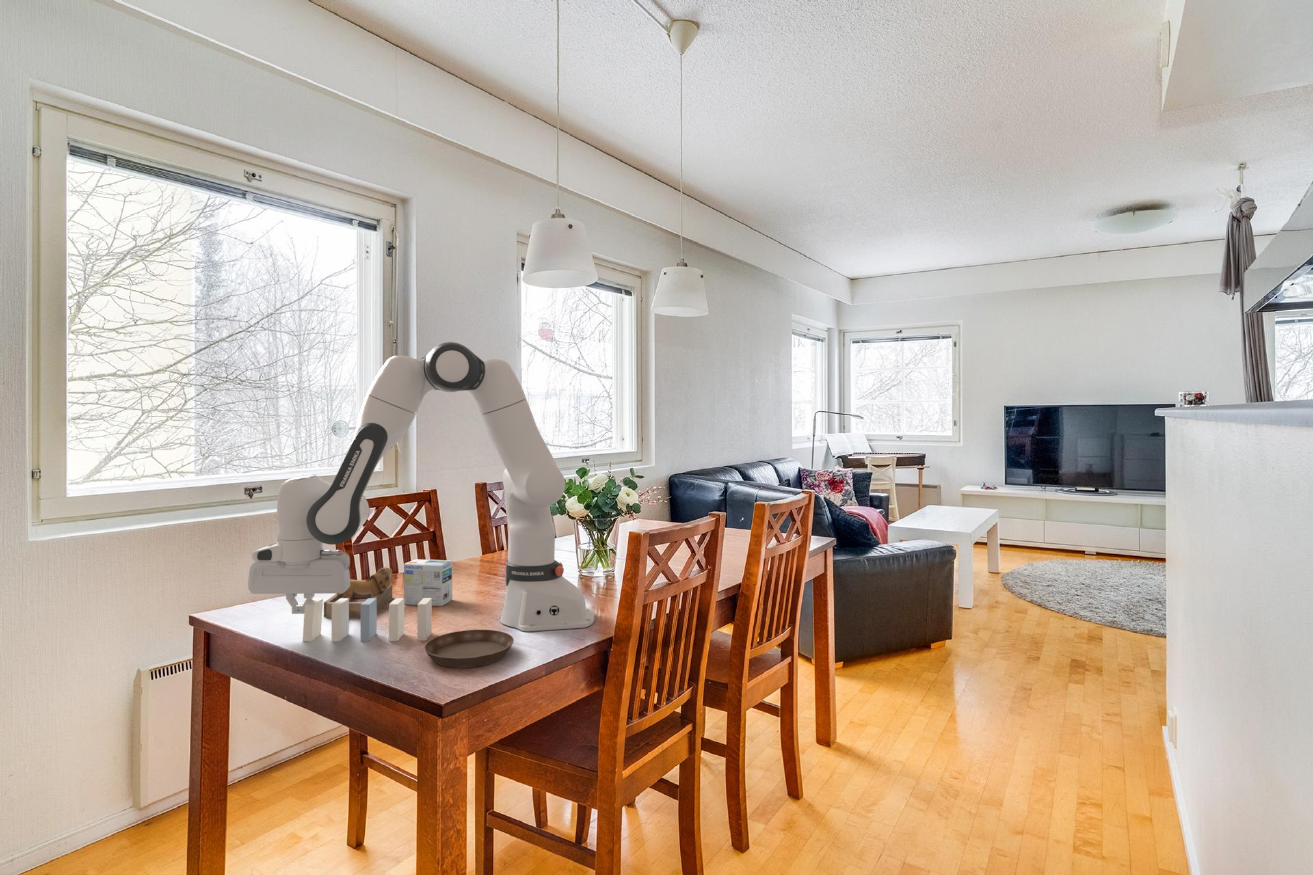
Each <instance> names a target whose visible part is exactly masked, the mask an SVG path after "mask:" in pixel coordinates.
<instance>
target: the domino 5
mask: <svg viewBox="0 0 1313 875" xmlns="http://www.w3.org/2000/svg"><path fill="white" fill-rule="evenodd" d="M432 610H433V606H432V598H423V599H422V600H421V601H420V602H419V603H418V605H417V628H416V630H417V633H416V634H417V636H416V637H417V638H416V640H417V641H418V642H419V641H424V642H425V641H427V640H428V639H429V637H430V636H431V635H432V630H433V629H432V627H433V626H432V624H433V623H432V621H433V618H432V616H433V613H432V612H433V611H432Z"/></svg>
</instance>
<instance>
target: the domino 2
mask: <svg viewBox="0 0 1313 875" xmlns="http://www.w3.org/2000/svg"><path fill="white" fill-rule="evenodd" d="M349 624H350V618H349V598H340V599H339V600H337V601H336V602H335V603H333V604H332V618H331V642H341V641H342V640H344V639H345V638H346V637H347V636H348V635H349V632H350V631H349V630H350V628H349V627H350V625H349Z"/></svg>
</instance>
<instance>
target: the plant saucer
mask: <svg viewBox="0 0 1313 875" xmlns="http://www.w3.org/2000/svg"><path fill="white" fill-rule="evenodd" d="M514 641H515V640H514V637H513V636H512V635H510V634H509V633H507V632H503V631H500V630H493V629H467V630H458V631H453V632H448V633H444V634H441V635H438V636H435V637H433V638H431V639H430V640H428V641H427V642H426V643H425V644H424V647H423V649H424V651H425V653H426V655H427V656H428V657H429V658H430V659H431V660H432V661H433V662H434V663H436V664H438V665H439V666H442V667H447V668H453V669H454V668H455V669H457V668H458V669H467V668H475V667H476V668H477V667H482V666H486V665H489V664H493V663H496V662H497V661H499V660H501V659H503V657H505V655H506V654H507V653H508V651H509V650H510V649H511V648H512V645H513V644H514Z"/></svg>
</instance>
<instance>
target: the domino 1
mask: <svg viewBox="0 0 1313 875" xmlns="http://www.w3.org/2000/svg"><path fill="white" fill-rule="evenodd" d="M323 609H324V598H323V597H322V598H321V597H313V599H312V600H311V601H309V602H308V603H306V604H305V612H304V614H303V632H302V642H313V641H314V640H316V639H317V638H318V637H319V636H320V635H321V634H322V620H323V619H322V618H323Z"/></svg>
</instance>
